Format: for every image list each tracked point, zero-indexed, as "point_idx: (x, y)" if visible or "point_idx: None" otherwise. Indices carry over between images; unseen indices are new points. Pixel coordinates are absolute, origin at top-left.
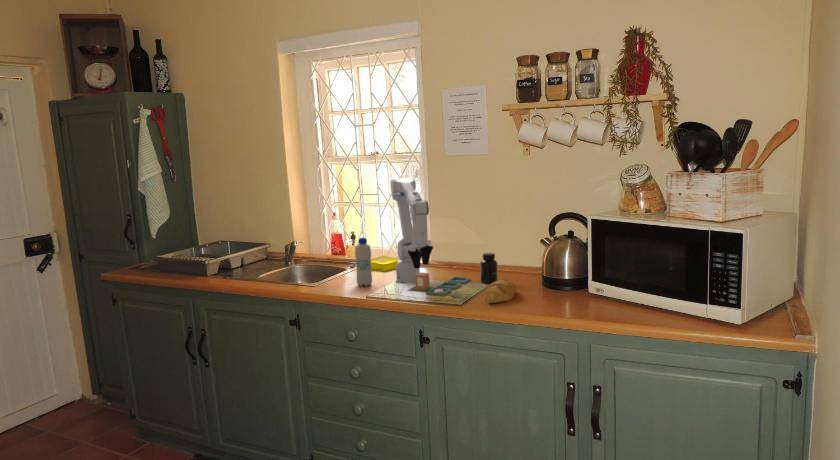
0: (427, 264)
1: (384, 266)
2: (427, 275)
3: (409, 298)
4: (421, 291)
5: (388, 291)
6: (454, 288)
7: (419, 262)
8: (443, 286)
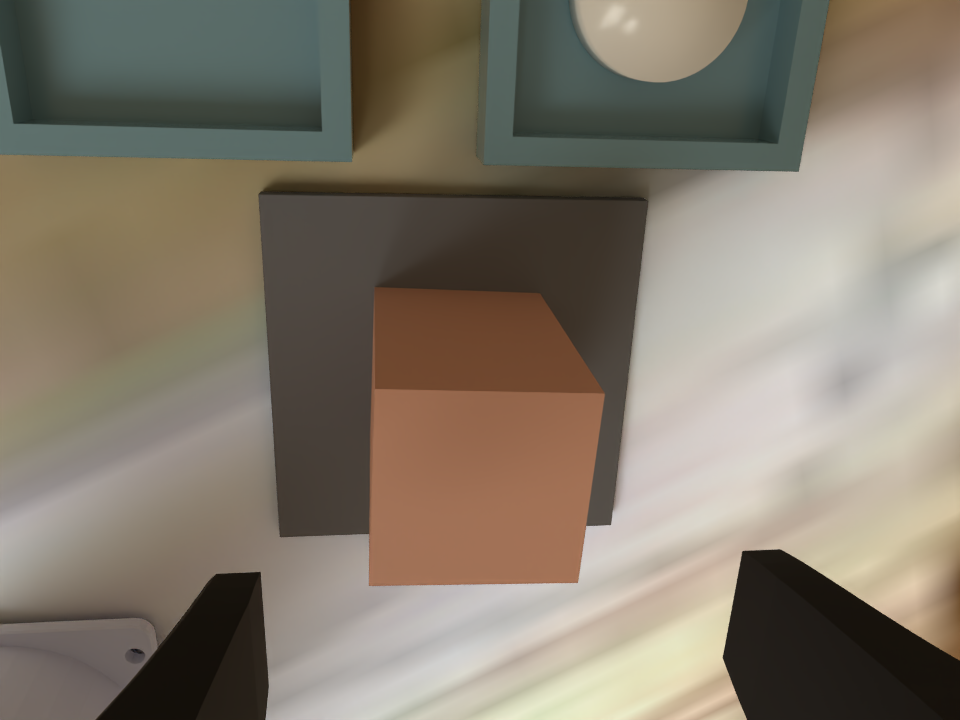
0: (258, 576)
1: None
2: (462, 376)
3: (951, 318)
4: (620, 312)
5: (647, 704)
6: None
7: (910, 632)
8: (347, 22)
